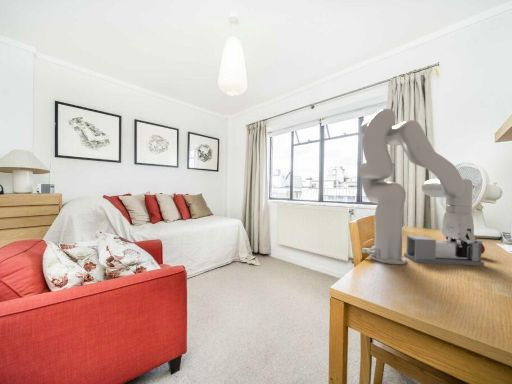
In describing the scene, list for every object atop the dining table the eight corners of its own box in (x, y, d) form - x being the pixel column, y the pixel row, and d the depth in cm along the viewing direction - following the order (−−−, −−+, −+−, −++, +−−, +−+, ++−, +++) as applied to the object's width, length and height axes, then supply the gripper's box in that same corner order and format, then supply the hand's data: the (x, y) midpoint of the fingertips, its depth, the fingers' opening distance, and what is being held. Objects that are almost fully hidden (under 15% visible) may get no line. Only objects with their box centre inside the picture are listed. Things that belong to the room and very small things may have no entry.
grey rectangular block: (430, 257, 85) (430, 242, 85) (424, 254, 89) (424, 240, 89) (473, 259, 83) (474, 244, 83) (465, 256, 87) (466, 241, 87)
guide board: (415, 262, 84) (416, 239, 84) (404, 255, 92) (404, 235, 91) (484, 265, 81) (484, 241, 81) (466, 258, 89) (466, 237, 89)
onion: (488, 258, 89) (489, 239, 89) (474, 258, 89) (475, 239, 89) (474, 254, 95) (475, 236, 95) (461, 254, 95) (462, 236, 95)
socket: (472, 261, 82) (472, 241, 82) (458, 255, 88) (458, 237, 88) (481, 261, 82) (482, 241, 81) (466, 256, 88) (467, 237, 88)
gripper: (433, 207, 94) (432, 249, 94) (465, 212, 77) (464, 262, 78) (452, 208, 93) (451, 250, 93) (489, 212, 76) (487, 263, 77)
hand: (457, 255), depth 85 cm, fingers closed on grey rectangular block, 3 cm apart
